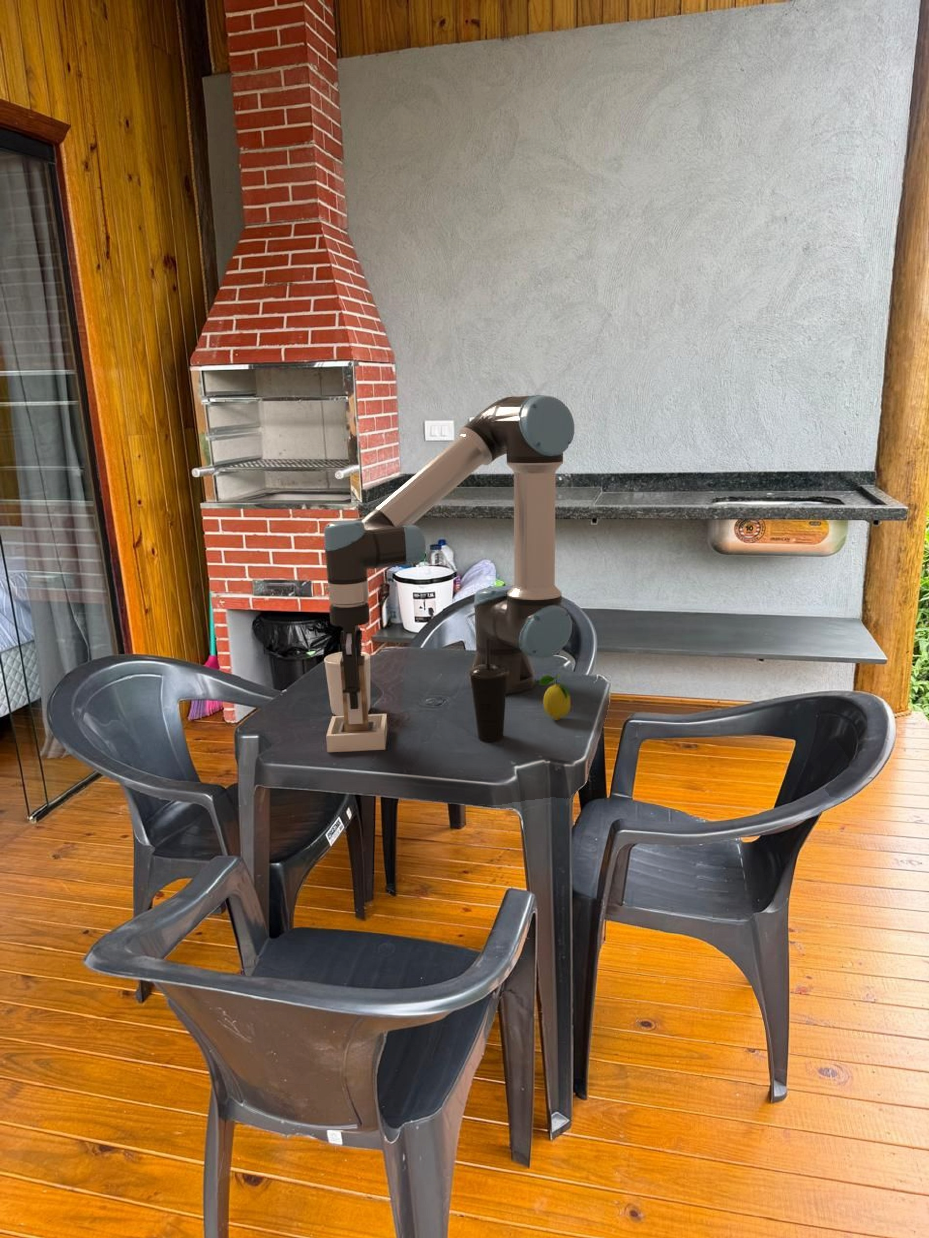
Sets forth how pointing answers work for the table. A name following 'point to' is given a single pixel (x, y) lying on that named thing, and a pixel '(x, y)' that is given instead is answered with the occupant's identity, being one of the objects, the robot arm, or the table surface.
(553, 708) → the lemon
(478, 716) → the drinking cup
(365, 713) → the brown bar
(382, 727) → the cream open tray
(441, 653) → the table surface
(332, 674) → the cream cup
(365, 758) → the table surface
